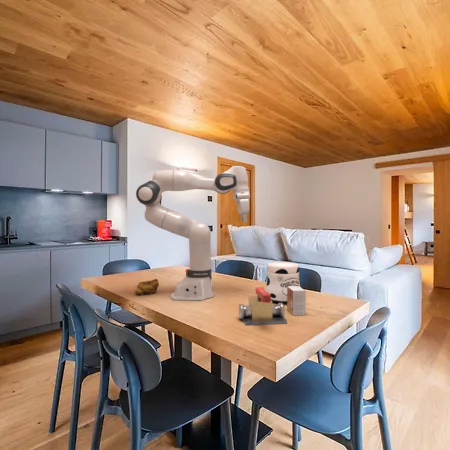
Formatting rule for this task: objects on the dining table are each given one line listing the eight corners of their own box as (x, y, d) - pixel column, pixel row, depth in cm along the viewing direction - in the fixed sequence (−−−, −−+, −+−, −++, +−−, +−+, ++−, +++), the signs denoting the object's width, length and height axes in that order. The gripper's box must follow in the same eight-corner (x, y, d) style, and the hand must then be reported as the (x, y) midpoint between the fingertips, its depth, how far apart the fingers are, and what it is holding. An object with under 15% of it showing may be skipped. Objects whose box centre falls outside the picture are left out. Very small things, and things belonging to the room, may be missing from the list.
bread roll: (137, 297, 147) (137, 282, 146) (131, 293, 154) (131, 279, 154) (160, 293, 154) (160, 279, 154) (153, 290, 162) (153, 276, 162)
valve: (242, 325, 105) (241, 299, 105) (237, 314, 117) (237, 291, 117) (287, 323, 107) (287, 297, 106) (278, 313, 118) (278, 290, 118)
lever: (254, 292, 114) (254, 286, 114) (263, 292, 114) (263, 286, 114) (262, 302, 100) (262, 295, 100) (271, 302, 100) (271, 295, 100)
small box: (286, 309, 123) (286, 286, 123) (299, 309, 124) (299, 285, 124) (292, 315, 115) (292, 290, 115) (305, 315, 116) (305, 290, 116)
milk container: (294, 307, 127) (294, 268, 126) (259, 302, 136) (259, 265, 135) (305, 298, 141) (305, 263, 141) (273, 294, 150) (272, 260, 150)
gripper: (234, 198, 159) (236, 222, 159) (237, 195, 138) (240, 222, 139) (245, 196, 159) (247, 221, 160) (250, 193, 139) (253, 221, 139)
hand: (244, 221), depth 149 cm, fingers open, 8 cm apart
